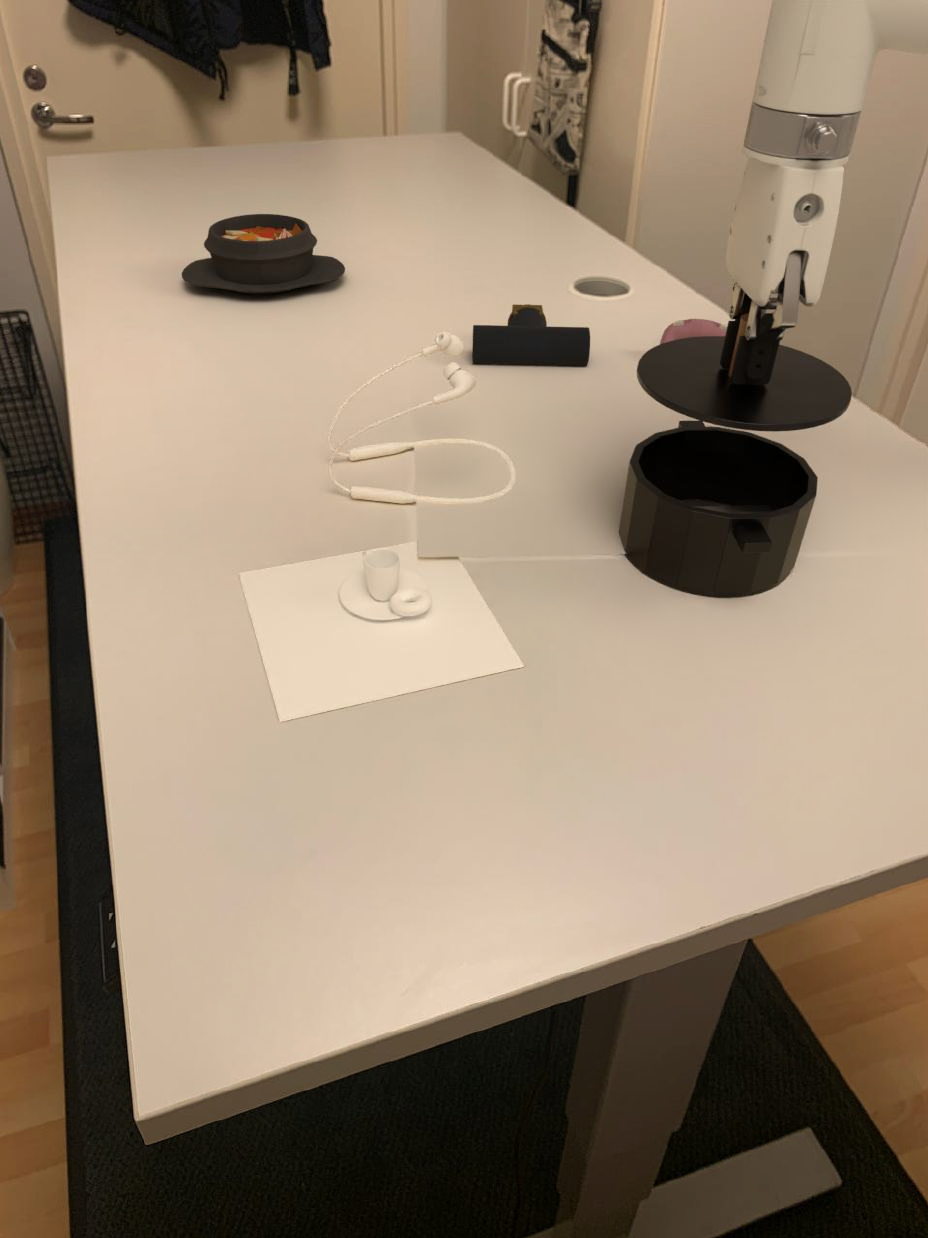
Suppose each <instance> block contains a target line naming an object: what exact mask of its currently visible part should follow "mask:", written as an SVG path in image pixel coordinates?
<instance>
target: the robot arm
mask: <svg viewBox="0 0 928 1238" xmlns="http://www.w3.org/2000/svg"><path fill="white" fill-rule="evenodd" d="M883 50H891V51H899V52H905V53H912V54H916V55H921V56H925V57H928V0H772V1H771V5H770V10H769V15H768V21H767V26H766V30H765V34H764V40H763V46H762V50H761V55H760V60H759V65H758V71H757V76H756V81H755V85H754V90H753V95H752V101H751V106H750V109H749V116H748V121H747V125H746V131H745V136H744V141H743V146H742V149H741V152H742V155H744V156H745V157H746V158H747V162H746V165H745V169H744V172H743V175H742V180H741V184H740V187H739V191H738V194H737V199H736V203H735V208H734V212H733V215H732V220H731V225H730V230H729V234H728V239H727V246H726V252H725V268H726V271H727V273H728V274H729V276H731V278H732V279H733V286H732V291H733V292H732V296H731V301H730V306H729V311H728V316H729V320H728V322H727V325H726V326H727V331H726V335H725V340H724V345H723V349H722V354H721V359H720V365H721V366H722V368H725V369H730V365H731V361H732V356H733V351H734V347H735V342H736V338H737V333H738V329H739V324H740V320H741V316H742V315H744V314H749V317H748V322H747V327H746V332H745V336H740V338H739V343H738V347H737V352H736V356H735V361H734V365H733V370H732V374H731V381H732V382H733V384H735V385H765V384H768V383H769V381H770V378H771V374H772V370H773V367H774V363H775V359H776V355H777V351H778V347H779V345H780V343H781V341H782V340H783V338H784V336H785V331H786V330H787V329H792V328H796V326H797V324H798V318H799V307H800V305H799V304H800V303H801V304H802V305H804V306H805V307H810V308H811V307H814V306H815V305H816V304H817V303H818V302H819V300H820V298H821V294H822V292H823V291H822V290H823V287H824V284H825V280H826V279H825V278H826V276H827V270H828V268H829V267H828V266H829V261H830V257H831V254H832V253H831V252H832V249H833V244H834V240H835V234H836V230H837V224H838V220H839V212H840V208H841V201H842V191H843V186H844V185H843V184H844V175H845V173H844V172H845V167H843V166H845V165H846V164H848V162H849V160H850V155H851V151H852V148H853V144H854V140H855V137H856V133H857V129H858V126H859V122H860V118H861V115H862V109H863V107H864V103H865V100H866V96H867V92H868V88H869V84H870V81H871V76H872V73H873V69H874V66H875V62H876V58H877V55H878V53H879V52H881V51H883ZM775 294H777V295H776V296H777V297H771V295H775ZM767 310H769V311H771V310H774V311H772V312H767ZM761 315H763V317H762V318H761ZM760 318H761V319H760Z"/></svg>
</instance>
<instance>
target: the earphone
mask: <svg viewBox="0 0 928 1238" xmlns="http://www.w3.org/2000/svg"><path fill="white" fill-rule="evenodd" d="M434 343H435V344H431V345H429V346H426V347H424V348H422V349H421V352H419V353H417V354H415V355H412V356H410V357H408V358H407V359H404V360H401V361H400V362H399V363H396V364H393V365H392V366H390V367H388V368H386V369H385V370H383V371H381V372H380V373H378V374H377V375H375V376H373V377H372V378H370V379H369V380H368V381H366V382H365V383H364V384H362V385H360V386H359V387H358V388H357V389H355V391H353V392H352V393H351V394H350V395H349V396H348V397H347V398H346V400H345V401H343V403H342V404H341V405H340V407H339V408H338V410H337V412H336V413H335V415H334V417H333V420H332V422H331V423H330V424H331V425H330V427H329V430H328V433H327V444H328V447H329V449H330V451H332V455H331V457H330V459H329V462H328V467H327V469H328V474H329V477H330V479H331V481H332V482H333V483H334V484H335V485H336V486H337V487H338V488H340V489H341V490H343V491H345V492H347V493H349V495H350V497H351V499H356V500H366V501H375V502H384V503H394V504H403V505H405V504H413V503H419V502H420V503H430V504H431V503H432V504H433V503H434V504H448V505H451V504H452V505H453V504H456V505H457V504H458V505H459V504H473V503H474V504H475V503H480V502H486V501H491V500H494V499H497V498H499V497H501V496H503V495H505V494H507V493H509V492H510V490H511V489H512V488H513V487H514V485H515V483H516V479H517V472H516V468H515V465H514V463H513V461H512V459H511V458H510V457H509V455H507V453H505V452H504V451H503V450H502V449H501V448H499V447H497V446H495V445H494V444H491V443H488V442H485V441H481V440H478V439H470V438H461V437H458V438H456V437H447V438H445V437H444V438H443V437H442V438H431V439H423V440H416V441H409V442H407V441H406V442H405V441H404V442H403V441H391V442H380V443H374V444H369V445H368V444H367V445H363V446H356V447H354V448H349V449H348V450H347V453H344V452H340V450H341V449H342V448H343V447H344V446H345V445H346V444H347V443H349V442H350V441H351V440H353V439H354V438H356V437H357V436H359V435H361V434H362V433H365V432H367V431H368V430H370V429H373V428H375V427H377V426H380V425H382V424H384V423H387V422H389V421H392V420H394V419H396V418H399V417H402V416H404V415H407V414H409V413H412V412H414V411H417V410H420V409H422V408H425V407H427V406H430V405H433V404H434V405H436V406H438V405H441V404H444V403H448V402H451V401H453V400H457V399H459V398H461V397H464V396H466V395H467V394H469V393H470V392H472V391H473V390H474V389H475V387H476V384H477V383H476V382H477V381H476V378H475V377H474V376H473V374H472V373H471V372H469V371H467V370H465V369H462V367H461V365H460V364H459V363H458V362H454V361H452V362H450V363H448V364H447V365H446V366H445V367H444V369H443V376H444V378H445V379H446V380H447V381H449V385H450V387H451V388H452V389H450V390H447V391H445V392H442V393H438V394H436V395H434V396H433V397H432V398H433V399H432V400H430V401H426V402H424V403H421V404H418V405H416V406H412V407H411V408H408V409H405V410H402V411H400V412H397V413H395V414H392V415H390V416H388V417H385V418H383V419H381V420H378V421H376V422H373V423H372V424H369V425H367V426H365V427H363V428H361V429H359V430H357V431H356V432H354V433H353V434H351V435H350V436H348V437H346V438H345V439H344V440H343V441H342V442H341V443H340V444H339V445H338V446H337V447H336V448H334V447H333V445H332V441H331V439H332V433H333V430H334V427H335V424H336V422H337V420H338V417H340V414H341V412H342V411H343V409H344V408H345V407H346V405H347V404H348V403H349V402H350V401H351V399H353V398H354V397H355V396H356V395H357V394H358V393H360V392H361V391H362V390H363V389H365V388H366V387H367V386H368V385H370V384H372V383H373V382H374V381H376V380H378V379H379V378H381V377H382V376H384V375H386V374H387V373H390V372H391V371H393V370H395V369H397V368H399V367H401V366H403V365H404V364H407V363H409V362H412V360H416V359H417V358H419V357H422V356H424V357H428V356H431V355H434V354H436V353H439V352H442V353H443V354H444V355H445V356H446V357H448V358H450V359H458V358H460V357H461V356H462V354H463V353H464V351H465V344H464V342H463V341H462V339H461V338H460V337H459V336H457V335H455V334H452V333H449V332H448V331H440V332H438V334H437V335H436V336H435V339H434ZM453 443H454V444H455V443H457V444H459V443H460V444H470V445H471V444H472V445H478V446H482V447H485V448H488V449H491V450H493V451H494V452H496V453H498V454H499V455H500V456H501V457H502V458H503V459H504V461H505V462H506V465H507V467H508V471H509V481H508V483H507V484H506V485H505V487H503V488H502V489H500V490H499V491H496V492H493V493H490V494H487V495H482V496H475V497H439V496H428V495H419V494H414V493H412V492H408V491H405V490H398V489H388V488H380V487H373V486H363V485H352V486H351V488H350V489H349V488H347V487H346V486H344V485H342V484H340V483H339V481H337V480H336V478H335V477H334V475H333V471H332V466H333V462H334V460H335V458H336V456H337V455H338V456H340V457H346V458H348V459H349V461H351V462H354V461H359V460H360V461H361V460H366V459H371V458H379V457H384V456H390V455H396V454H399V453H402V452H404V451H406V450H409V449H415V448H416V447H422V446H423V447H424V446H428V445H429V446H430V445H438V444H453Z"/></svg>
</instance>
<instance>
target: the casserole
mask: <svg viewBox="0 0 928 1238" xmlns="http://www.w3.org/2000/svg"><path fill="white" fill-rule="evenodd" d="M317 243H318V239H317V237H316V236H315V235H314V234H313V233H312V231H311V227H310V225H309V223H308V222H306V221H305V220H303V219H301V218H297V217H294V216H291V215H290V216H289V215H283V214H275V213H254V214H253V213H252V214H242V215H236V216H231V217H229V218H228V217H227V218H224V219H221V220H218V221H216V222H214V223H213V224H212V225H209V228H208V232H207V238H206V239H205V240H204V242H203V248H205V250H206V251H207V252H208V253H209V254H210V255H209V256H210V257H206V258H201V259H197V260H194V261H192V262H190V263H189V264H187V265H186V266H185V267H184V268H183V269H182V272H181V278H182V279H183V281H184V282H185V283H187V284H188V285H191V286H194V287H198V288H207V289H208V288H209V289H221V290H229V291H234V292H238V293H243V294H249V295H275V294H281V293H285V292H289V291H293V290H295V288H296V289H298V288H303V287H308V286H314V285H321V284H327V283H332V282H335V281H337V280H338V279H339V278H341V277H343V276H344V274H345V273H346V267H345V264H344V263H342V261H340V260H339V259H337V258H336V257H333V256H329V255H319V254H314V248H315V247H316V246H317ZM292 289H293V290H292ZM274 293H275V294H274Z"/></svg>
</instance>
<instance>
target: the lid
mask: <svg viewBox="0 0 928 1238" xmlns="http://www.w3.org/2000/svg"><path fill="white" fill-rule="evenodd" d="M748 317H749V314H744V315H742V316H741V320H740V324H739V329H738V333H737V338H736V342H735V347H734V351H733V356H732V361H731V365H730V369H725V368H722V366H721V365H720V359H721V354H722V349H723V345H724V340H725V336H701V337H689V338H683V339H677V340H673V341H669V342H666V343H662V344H660V343H659V344H658V345H655V346H653V347H652V348H650V349H648V350H647V351H645V352H644V353H643V355H642V356H641V357H640V358H639V360H638V363H637V366H636V378H637V381H638V384H639V386H640V387H641V388H642V390H643V391H644V392H645V393H646V394H647V395H648V396H649V397H650V398H652V399H653V400H654V401H656V402H657V403H659V404H661V405H663V406H664V407H666V408H667V409H670V410H671V411H674V412H675V413H677V414H681V415H682V416H686V417H688V418H691V419H693V420H696V421H703V423H707V424H712V425H715V426H718V427H723V428H728V429H735V430H742V431H754V432H773V433H774V432H792V431H802V430H807V429H812V428H817V427H820V426H824V425H826V424H828V423H832V422H833V421H835V420H837V419H838V418H840V417H842V415H844V413H846V412H847V411H848V408H849V406H850V404H851V401H852V397H853V391H852V387H851V384H850V383H849V381H848V380H847V378H846V377H845V376H844V375H843V374H842V373H841V372H840V371H839V370H837V368H835V367H833V366H832V365H831V364H829V363H827V362H825V361H824V360H823V359H820V358H818V357H816V356H814V355H812V354H809V353H807V352H805V351H802V350H799V349H795V348H793V347H791V346H786V345H783V344H779V347H778V351H777V355H776V359H775V363H774V367H773V370H772V374H771V378H770V381H769V383H768V384H765V385H735V384H733V382H732V381H731V374H732V370H733V365H734V361H735V356H736V352H737V347H738V343H739V338H740V336H745V332H746V327H747V322H748ZM762 317H763V315H761V318H762ZM761 318H760V319H761Z"/></svg>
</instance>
